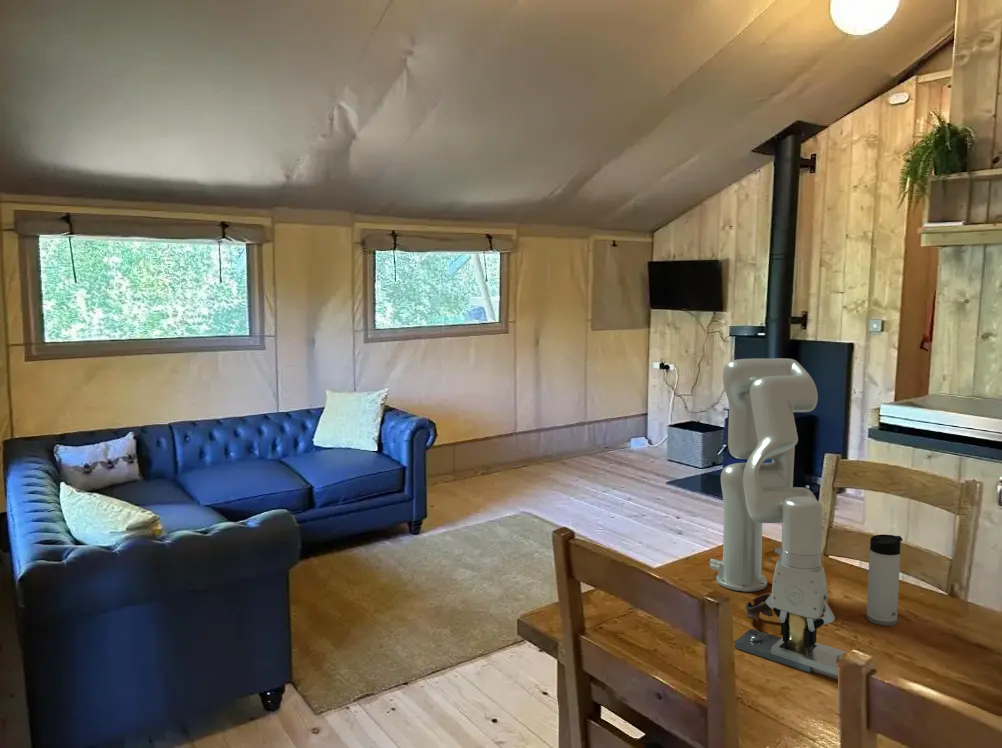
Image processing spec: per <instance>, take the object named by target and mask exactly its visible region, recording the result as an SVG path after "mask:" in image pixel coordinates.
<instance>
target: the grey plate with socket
mask: <svg viewBox="0 0 1002 748" xmlns="http://www.w3.org/2000/svg"><path fill="white" fill-rule="evenodd" d="M734 647H735V648H734V649H736V648H737V650H739V651H742V650H743V652H746V653H749V654H751V655H755V656H758V657H760V658H763V659H766V660H769V661H773V662H775V663H778V664H782V665H784V666H788V667H790V668H794V669H796V670H799V671H803V672H806V673H808V674H811V673H812V672H813V673H816V674H820V675H822V676H825V677H828V678H832V679H835V680H838V661H839V658H840V657H841V656H842V655H843V654H844V653H846V652H847V651H846V650H842V649H840V648H836V647H833V646H829V645H826V644H822V643H818V642H816V643H815V645H813V646H812V647H811V648H810V649H808V655H807V656H805V655H802V654H799V653H796V652H793V651H790V650H788V641H787V642H784V641H783V636H782V637H780V636H779V637H778V636H777V635H776V636H775V635H772V634H769V633H766V632H762V631H759V630H757V629H753V628H750V629H748V630H747V631H746V632H745V633H743V635H741V636H740V637H738V638H737V640H735V641H734Z"/></svg>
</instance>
